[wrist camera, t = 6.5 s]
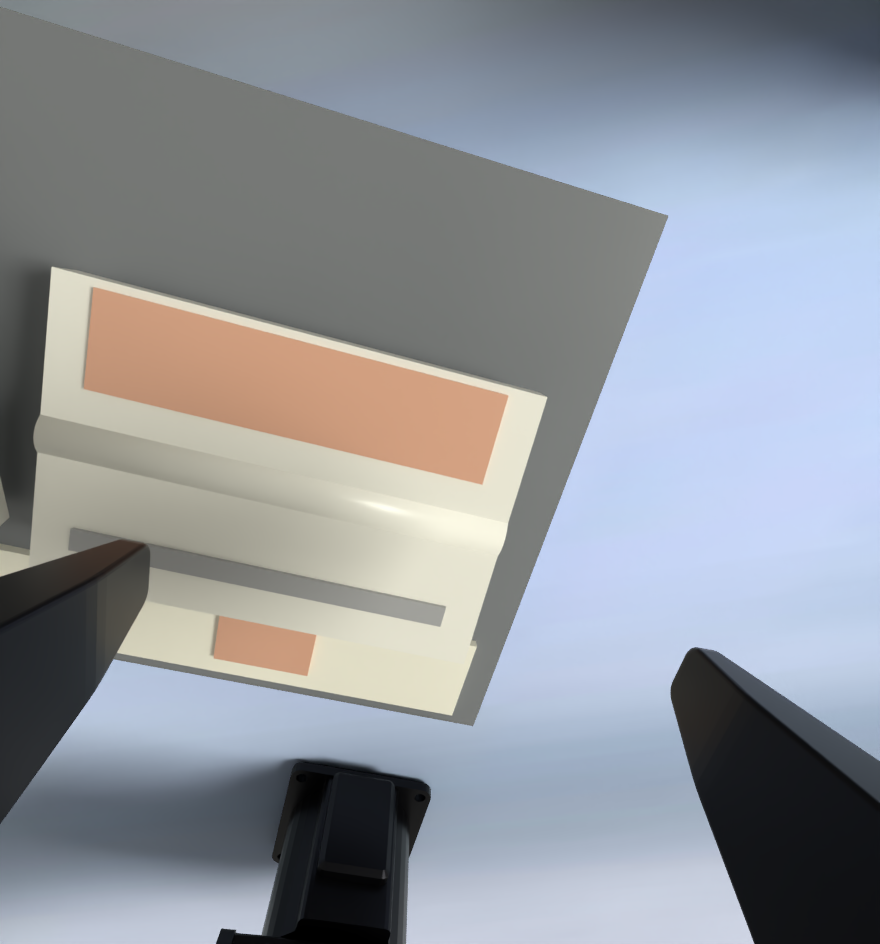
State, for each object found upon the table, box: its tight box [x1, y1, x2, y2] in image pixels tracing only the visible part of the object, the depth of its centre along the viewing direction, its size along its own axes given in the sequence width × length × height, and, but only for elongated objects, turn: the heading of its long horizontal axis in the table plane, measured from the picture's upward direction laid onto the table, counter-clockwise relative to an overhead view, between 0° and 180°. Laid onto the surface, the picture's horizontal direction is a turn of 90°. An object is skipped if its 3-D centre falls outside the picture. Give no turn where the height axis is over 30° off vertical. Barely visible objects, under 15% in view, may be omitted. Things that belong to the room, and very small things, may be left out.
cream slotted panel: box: [29, 267, 547, 664], centre depth 15 cm, size 8×12×1 cm, turn 75°
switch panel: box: [0, 7, 668, 726], centre depth 17 cm, size 18×30×4 cm, turn 75°
